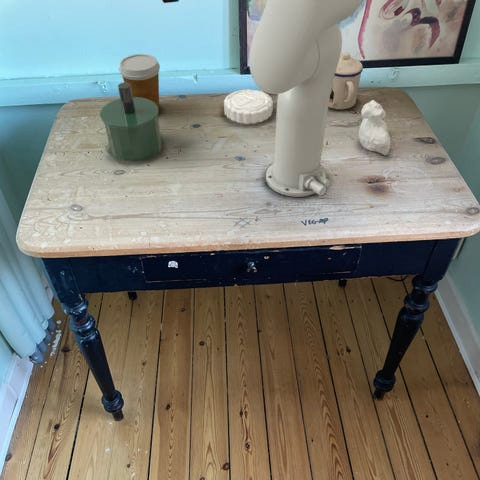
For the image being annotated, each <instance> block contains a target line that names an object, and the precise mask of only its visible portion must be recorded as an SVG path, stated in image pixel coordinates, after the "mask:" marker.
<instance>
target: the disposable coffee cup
mask: <svg viewBox="0 0 480 480" xmlns="http://www.w3.org/2000/svg"><path fill="white" fill-rule="evenodd" d="M160 69H161V65H160V63H159V62H158V59H157V58H156V57H155V56H153V55H150V54H146V53H135V54H131V55H127V56H125V57H124V58H122V59H121V60H120V62H119V67H118V71H119V73H120V75H121V76H122V79H123V83H129V84H130V85H131V90H132V95H133V97H141V98H146V99H149V100H151V101H153V102H154V103H155V104H156V105H157V107H158V111H160V84H159V83H160V79H159V78H160V77H159V75H160Z"/></svg>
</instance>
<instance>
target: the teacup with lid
mask: <svg viewBox="0 0 480 480" xmlns="http://www.w3.org/2000/svg"><path fill="white" fill-rule="evenodd" d="M363 70H364V67H363V64H362V62H361V61H360V60H358V59H357V58H354V57H352V56H351V54H350V53H349V52H348V51H347V52H346V51H345V52H341V54H340V59H339V62H338V65H337V69H336V72H335V75H334V79H333V83H332V87H331V92H330V98H329V105H328V108H329V109H333V110H347V109H350V108H353V107H354V106H355V105H356V103H357V98H358V93H359V87H360V81H361V75H362V72H363Z"/></svg>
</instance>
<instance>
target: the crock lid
mask: <svg viewBox="0 0 480 480" xmlns="http://www.w3.org/2000/svg"><path fill="white" fill-rule="evenodd" d="M117 89H118V94H119V97H120V98H117V99H114V100H111V101H109V102H108V103H106V104H105V105H104V106H103V107H102V108H101V109H100V112H99V117H100V120H101V122H103V124H104V125H105V124H106V125H108V126H110V127H113V128H118V129H132V128H138V127H141V126H144V125H147V124H149V123H151V122H152V121H153V120H155V118H156V117H157V116H159V111H160V110H159V111H158V107H157V105H156V104H155V103H154V102H153V101H151V100H149V99H146V98H141V97H133V95H132V90H131V85H130V84H129V83H124V82H120V83H119V84H117Z"/></svg>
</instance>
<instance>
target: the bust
mask: <svg viewBox="0 0 480 480" xmlns="http://www.w3.org/2000/svg"><path fill="white" fill-rule="evenodd" d="M360 114H361V115H360V116H361V118H362V120H361V123H360V127H359V130H358V141H359V143H360V144H361V146H362V147H363V149H364V150H367V151H370V152H377V153H379V154H381V155H383V156H387V155H388V154H389V152H390V149H391V139H390V135H389V130H388V127H387V123H386V122H385V121H384V120H383V118H385V117H386V116H387V112H386V111H385V110H384V108H383V106H382V105H381V104H380V103H379V102H377V101H376V100H374V99H372V100H370V101H369V102H367V103H365V104H364V105H363V107H362V109H361V113H360Z"/></svg>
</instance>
